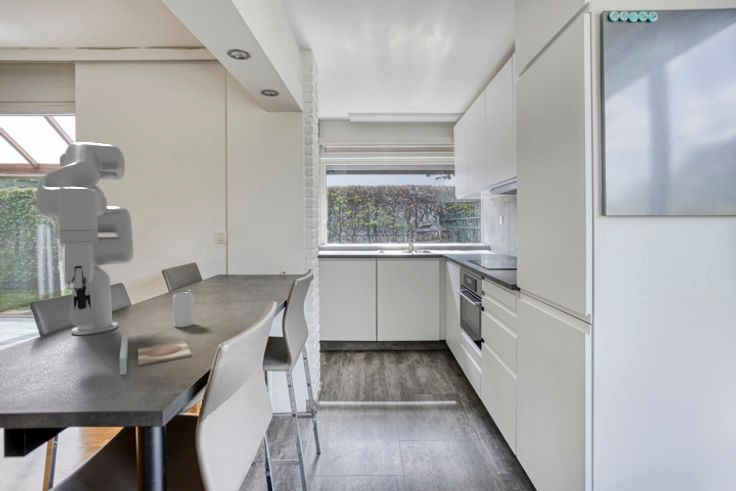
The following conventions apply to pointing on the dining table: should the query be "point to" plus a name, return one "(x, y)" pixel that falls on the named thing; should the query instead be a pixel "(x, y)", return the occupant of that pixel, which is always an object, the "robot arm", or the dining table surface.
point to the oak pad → (163, 352)
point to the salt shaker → (83, 310)
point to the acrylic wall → (123, 355)
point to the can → (183, 309)
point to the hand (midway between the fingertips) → (83, 309)
